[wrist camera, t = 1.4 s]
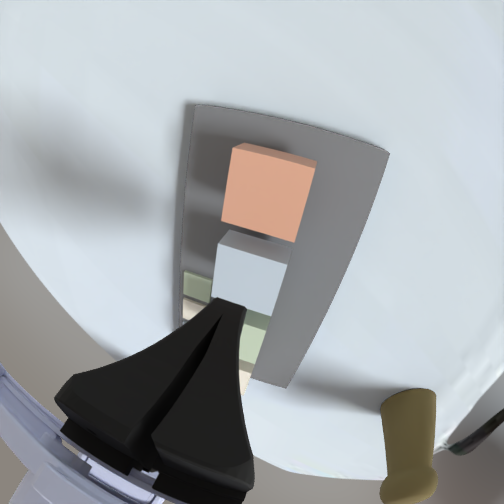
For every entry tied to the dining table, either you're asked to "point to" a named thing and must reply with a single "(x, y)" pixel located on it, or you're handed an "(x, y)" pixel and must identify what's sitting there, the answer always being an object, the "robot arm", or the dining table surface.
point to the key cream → (244, 374)
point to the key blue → (249, 271)
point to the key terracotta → (267, 190)
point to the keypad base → (304, 248)
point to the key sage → (252, 335)
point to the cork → (409, 446)
